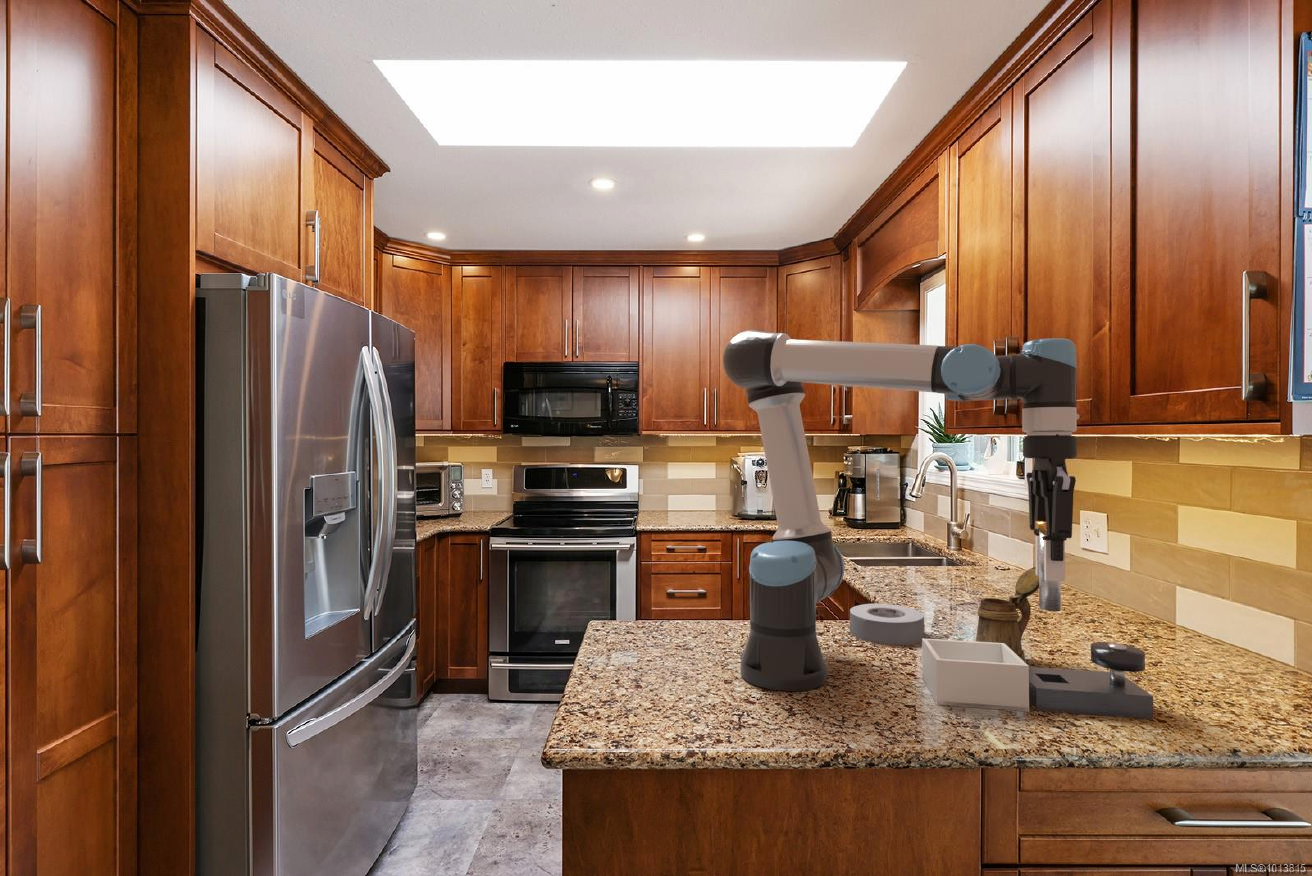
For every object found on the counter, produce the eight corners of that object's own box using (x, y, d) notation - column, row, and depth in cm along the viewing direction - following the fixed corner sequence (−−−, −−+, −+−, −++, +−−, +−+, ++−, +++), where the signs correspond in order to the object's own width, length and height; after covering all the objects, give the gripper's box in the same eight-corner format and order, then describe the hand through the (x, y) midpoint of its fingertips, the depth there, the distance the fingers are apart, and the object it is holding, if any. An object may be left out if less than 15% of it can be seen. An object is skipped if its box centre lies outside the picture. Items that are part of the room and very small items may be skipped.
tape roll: (875, 648, 129) (875, 624, 129) (836, 627, 143) (836, 605, 144) (940, 643, 132) (939, 619, 132) (896, 623, 147) (895, 601, 147)
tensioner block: (1036, 710, 98) (1036, 649, 98) (1014, 686, 108) (1013, 631, 108) (1161, 720, 95) (1160, 657, 95) (1126, 694, 104) (1125, 637, 104)
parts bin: (937, 704, 100) (936, 660, 101) (922, 678, 112) (922, 638, 112) (1029, 711, 98) (1028, 665, 98) (1004, 684, 109) (1004, 643, 109)
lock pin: (1041, 611, 101) (1040, 523, 101) (1031, 605, 105) (1031, 520, 105) (1069, 612, 100) (1068, 523, 100) (1058, 606, 104) (1058, 520, 104)
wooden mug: (1059, 666, 118) (1058, 570, 118) (989, 667, 117) (988, 571, 117) (1028, 650, 127) (1027, 561, 127) (963, 652, 126) (962, 562, 126)
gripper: (1098, 433, 94) (1099, 590, 94) (1054, 435, 110) (1055, 569, 110) (1043, 433, 96) (1043, 588, 95) (1007, 435, 111) (1008, 567, 111)
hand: (1049, 577), depth 102 cm, fingers closed on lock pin, 3 cm apart
